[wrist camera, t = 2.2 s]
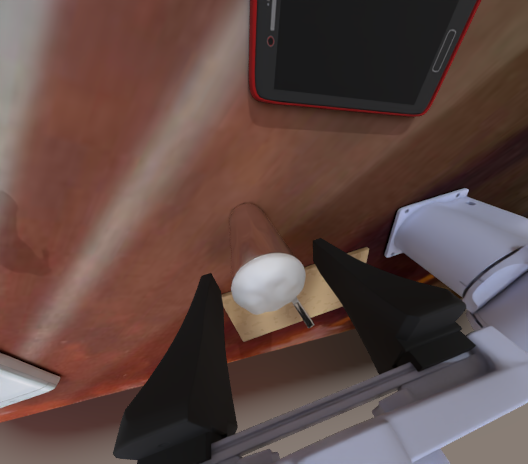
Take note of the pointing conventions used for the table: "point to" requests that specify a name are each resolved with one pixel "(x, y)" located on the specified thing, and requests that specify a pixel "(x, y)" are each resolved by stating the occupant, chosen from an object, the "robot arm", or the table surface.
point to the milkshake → (263, 264)
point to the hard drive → (22, 381)
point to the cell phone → (355, 52)
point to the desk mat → (288, 305)
